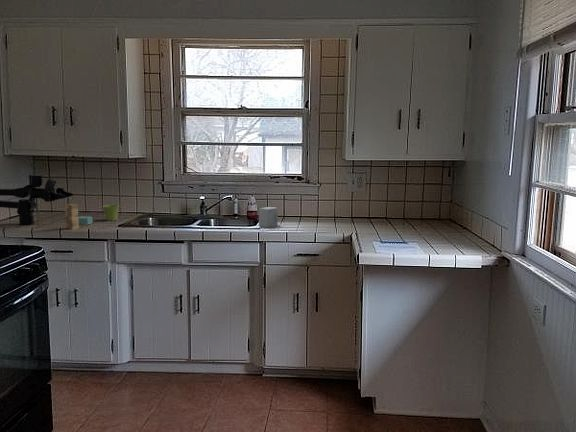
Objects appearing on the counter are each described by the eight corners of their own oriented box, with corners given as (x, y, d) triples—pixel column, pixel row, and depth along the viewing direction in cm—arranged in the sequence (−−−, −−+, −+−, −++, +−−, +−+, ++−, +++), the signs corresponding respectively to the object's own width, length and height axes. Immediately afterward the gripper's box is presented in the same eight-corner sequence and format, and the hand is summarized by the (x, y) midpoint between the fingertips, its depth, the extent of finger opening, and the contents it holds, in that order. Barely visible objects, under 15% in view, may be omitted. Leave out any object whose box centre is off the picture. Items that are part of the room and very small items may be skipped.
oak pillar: (66, 228, 286) (64, 204, 284) (72, 227, 290) (71, 203, 288) (72, 229, 284) (71, 205, 282) (78, 228, 288) (77, 204, 286)
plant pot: (109, 222, 310) (108, 207, 309) (100, 220, 316) (99, 206, 314) (123, 220, 317) (122, 205, 316) (113, 218, 323) (113, 204, 322)
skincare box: (268, 227, 296) (268, 209, 294) (258, 226, 299) (258, 208, 298) (278, 225, 305) (278, 207, 303) (268, 224, 308) (268, 206, 306)
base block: (75, 225, 299) (75, 218, 299) (80, 223, 306) (80, 216, 306) (87, 225, 299) (87, 218, 299) (92, 223, 306) (92, 216, 306)
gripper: (33, 180, 286) (61, 182, 285) (49, 177, 304) (76, 179, 304) (33, 200, 287) (61, 202, 287) (49, 197, 306) (76, 199, 305)
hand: (69, 195), depth 296 cm, fingers open, 9 cm apart
